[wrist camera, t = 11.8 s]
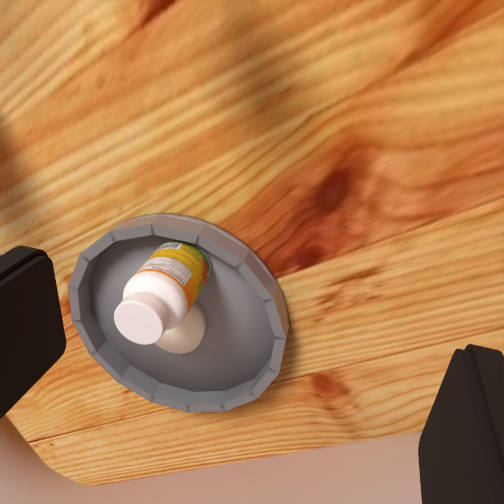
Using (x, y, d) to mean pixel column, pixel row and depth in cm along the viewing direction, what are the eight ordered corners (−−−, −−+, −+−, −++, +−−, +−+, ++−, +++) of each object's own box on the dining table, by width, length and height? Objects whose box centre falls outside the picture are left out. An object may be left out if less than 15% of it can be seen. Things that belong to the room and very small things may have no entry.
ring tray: (306, 239, 38) (302, 255, 35) (272, 412, 48) (267, 434, 46) (77, 192, 41) (58, 204, 38) (93, 364, 52) (79, 381, 49)
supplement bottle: (195, 296, 42) (152, 364, 34) (149, 265, 42) (94, 325, 33) (222, 259, 39) (184, 323, 31) (173, 225, 39) (121, 280, 31)
